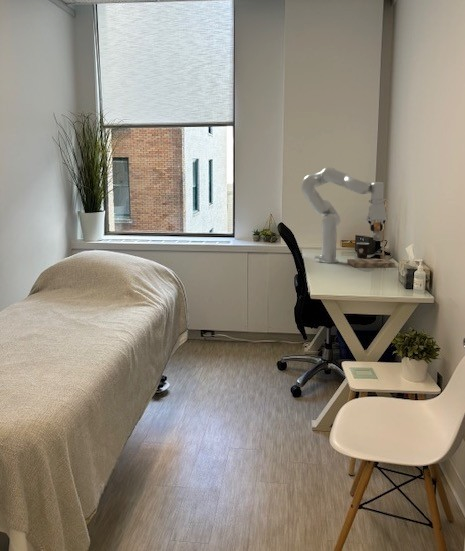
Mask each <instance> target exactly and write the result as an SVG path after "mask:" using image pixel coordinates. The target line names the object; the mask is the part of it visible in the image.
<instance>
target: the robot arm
mask: <svg viewBox="0 0 465 551" xmlns="http://www.w3.org/2000/svg"><path fill="white" fill-rule="evenodd" d="M327 183H332V184H335V185H337V186H339V187H342V188H344V189H347V190H350V191H351V192H354V193H357V194H360V195H368V194H370V200H368V203H370V204H369V206H368V214H367V216H366V217H365V219H364V220H365V221H366V222H367V223H368V224H369V226H370V228H369V230H370V231H371V232H373V231H374V225H373V222H374V221H379V222H380V231H379V232H382V231H383V225H384V224H385V223H386V222H387V221H388V220H389V218H388V217H387V213H386V205H385V204H384V189H385V188H384V185H385V184H384V182H382V181H373V182H370V181H361V180H359V179H357V178H354V177H352V176H351V175H349V174H348V173H346V172H344V171H340V170H337V169H336V168H334V167H332V166H331V167H329V166H327V167H324V168H323V169H322V170H321V171H320V172H316V173H314V174H313V173H312V174H307V175H306V176H305V177H304V178H303V179H302V182H301V192H302V194H303V195H304V197H305V198H306V200H307V201H308V203H309V205H310V206H311V208H312V209H313V210H314V212H315V213H316V214H317V215H319V216H320V215H321V216H322V219H321V253H320V254H319V255H314V256H313V258H314V259H317V260H318V262H320V263H325V264H334V263H338V262H339V259H337V241H338V240H337V239H338V232H337V227H338V226H339V225H340V223H341V216H340V215H339V213H338V212H337V210H336V208H334V207H335V206H334V205H332V203H331V202H330V201H329V200H327V199H324V198H323V197H322V196H321V195H320V193H319V192H318V191H317V190H316V188H317V187H320V186H324V185H325V184H327Z"/></svg>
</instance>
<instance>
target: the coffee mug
mask: <svg viewBox="0 0 465 551" xmlns="http://www.w3.org/2000/svg"><path fill="white" fill-rule="evenodd" d="M355 246H356V257H357V259H362V258H363V259H364V258H365V259H368V255H369V254H371V253H372V252H373V251H374V250H375V247H374V246H373V245H370V243H369V242H356V245H355ZM371 247H372V248H373V249H372V251H370V252H368V251H369V249H370V248H371Z"/></svg>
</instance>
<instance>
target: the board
mask: <svg viewBox="0 0 465 551" xmlns="http://www.w3.org/2000/svg"><path fill="white" fill-rule="evenodd" d="M346 260H347V261H346V262H347V264H348V265H349V266H352V267H353V268H395V267H396V263H395V262H394V261H391V260H390V259H387V258H365V259H362V258H357V259H356V258H350V259H349V258H348V259H346Z"/></svg>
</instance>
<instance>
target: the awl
mask: <svg viewBox="0 0 465 551" xmlns="http://www.w3.org/2000/svg"><path fill="white" fill-rule="evenodd" d="M373 225H374V231H372V235H373V236H372V237H373V239H372V240H373V241H380V232H381V231H380V221H379V222H378V221H375V222H373Z"/></svg>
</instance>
